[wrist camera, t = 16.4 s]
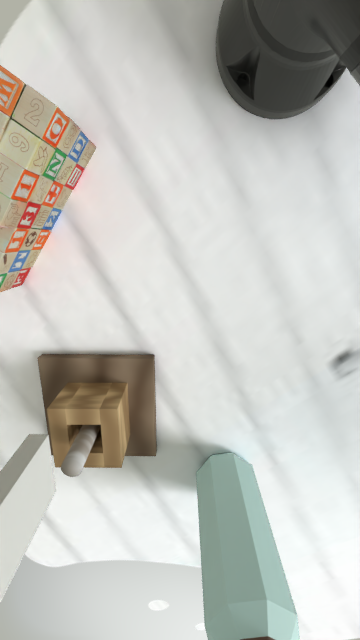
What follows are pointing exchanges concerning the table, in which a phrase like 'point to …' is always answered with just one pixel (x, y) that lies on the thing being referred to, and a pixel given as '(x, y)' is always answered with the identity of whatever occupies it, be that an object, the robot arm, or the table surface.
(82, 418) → the bead
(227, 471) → the water bottle
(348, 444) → the table surface
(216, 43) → the robot arm
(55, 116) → the stack of blocks
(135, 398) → the board
